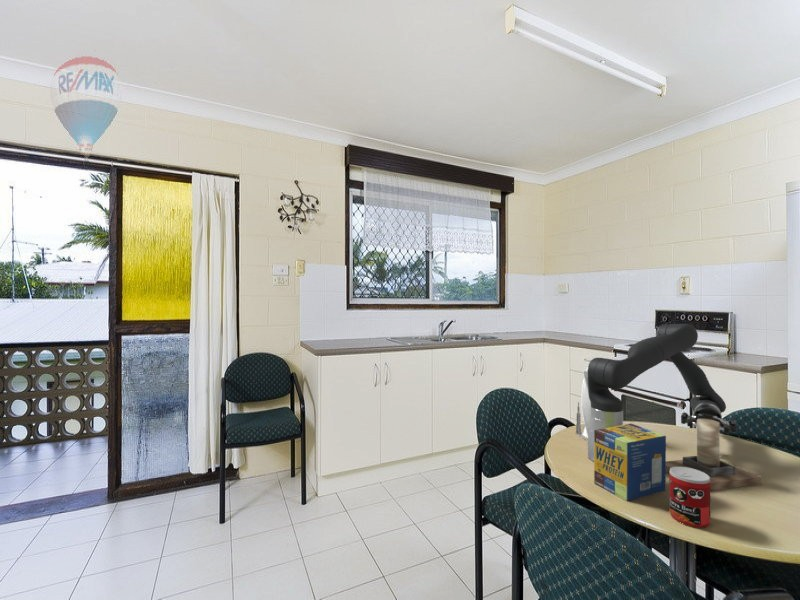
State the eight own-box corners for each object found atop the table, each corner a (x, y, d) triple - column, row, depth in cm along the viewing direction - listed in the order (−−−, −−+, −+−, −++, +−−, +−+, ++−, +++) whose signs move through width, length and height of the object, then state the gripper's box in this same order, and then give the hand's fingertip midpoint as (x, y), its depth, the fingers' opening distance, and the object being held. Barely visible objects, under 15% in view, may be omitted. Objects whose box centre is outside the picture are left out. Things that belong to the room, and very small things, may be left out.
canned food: (662, 514, 92) (662, 469, 92) (682, 507, 95) (682, 463, 95) (697, 532, 85) (697, 483, 85) (717, 523, 88) (717, 477, 88)
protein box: (593, 483, 108) (593, 429, 108) (631, 474, 113) (631, 423, 113) (627, 502, 98) (626, 442, 98) (667, 491, 104) (667, 434, 103)
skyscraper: (595, 433, 148) (595, 362, 148) (608, 441, 140) (608, 366, 140) (575, 433, 148) (574, 362, 148) (586, 441, 140) (586, 366, 140)
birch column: (701, 470, 110) (701, 423, 111) (694, 463, 115) (693, 417, 115) (723, 473, 109) (723, 424, 109) (714, 466, 114) (714, 419, 114)
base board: (703, 491, 103) (703, 475, 103) (659, 468, 117) (659, 455, 117) (761, 484, 107) (761, 469, 107) (712, 462, 121) (712, 449, 121)
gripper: (682, 401, 137) (680, 411, 125) (734, 408, 128) (738, 420, 116) (682, 421, 137) (680, 434, 125) (734, 430, 128) (738, 444, 116)
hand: (708, 427), depth 120 cm, fingers open, 8 cm apart
